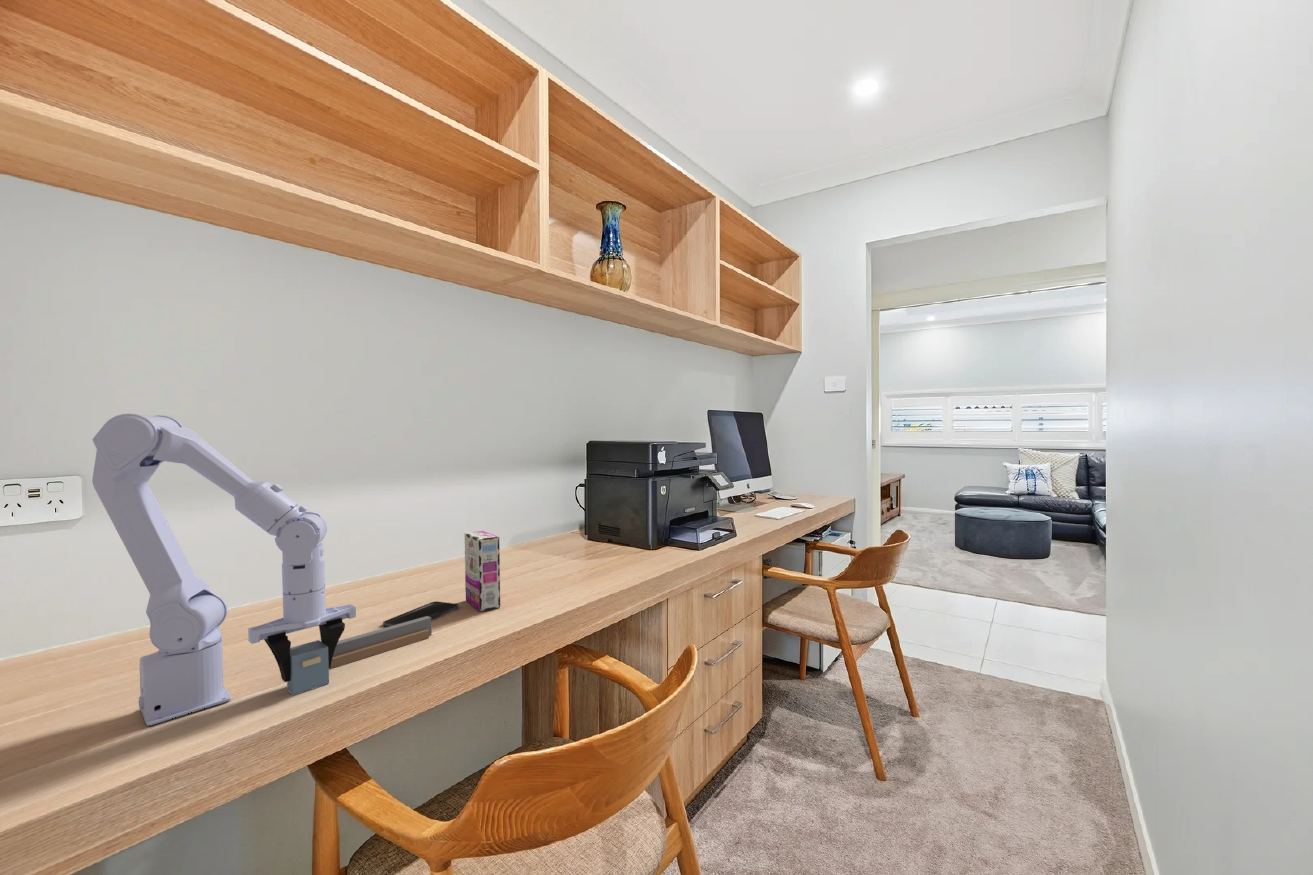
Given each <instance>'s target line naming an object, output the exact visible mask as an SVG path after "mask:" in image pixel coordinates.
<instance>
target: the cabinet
mask: <svg viewBox="0 0 1313 875" xmlns="http://www.w3.org/2000/svg"><path fill="white" fill-rule="evenodd" d="M329 671H330V669H329V661H328V646H326V645H325V644H324V643H322V642H321V640H320V639H318V640H314V641H310V642H307V643H303V644H299V645H295V646H292V647H290V672H291V678H290V681H288V682H286V685H287V687H286V689H288V690H289V691H290V692H291V693H292V694H293V695H292V694H291V693H290V692H289V691H288V690H287V691H288V692H289V693H290V694H291V695H292V696H295V694H296V695H298V694H297V693H299V694H301V693H300V692H302V693H304V692H303V691H305V692H308V691H310V690H309V689H311V690H313V689H312V688H314V689H316V688H315V687H317V688H320V687H323V686H325V684H326V685H329V684H330V672H329ZM328 683H329V684H328ZM307 690H308V691H307Z"/></svg>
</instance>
